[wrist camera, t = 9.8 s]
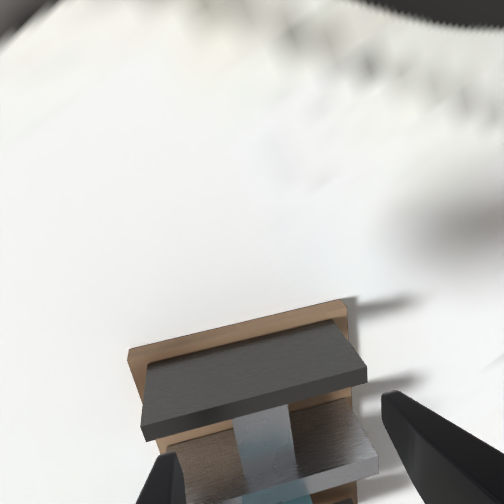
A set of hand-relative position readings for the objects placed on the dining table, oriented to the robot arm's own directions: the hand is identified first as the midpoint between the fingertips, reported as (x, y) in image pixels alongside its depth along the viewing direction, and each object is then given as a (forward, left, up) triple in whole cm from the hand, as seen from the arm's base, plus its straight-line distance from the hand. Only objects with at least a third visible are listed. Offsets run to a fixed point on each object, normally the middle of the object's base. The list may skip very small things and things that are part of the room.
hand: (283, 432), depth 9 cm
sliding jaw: (-9, 0, -11) cm, 14 cm away
